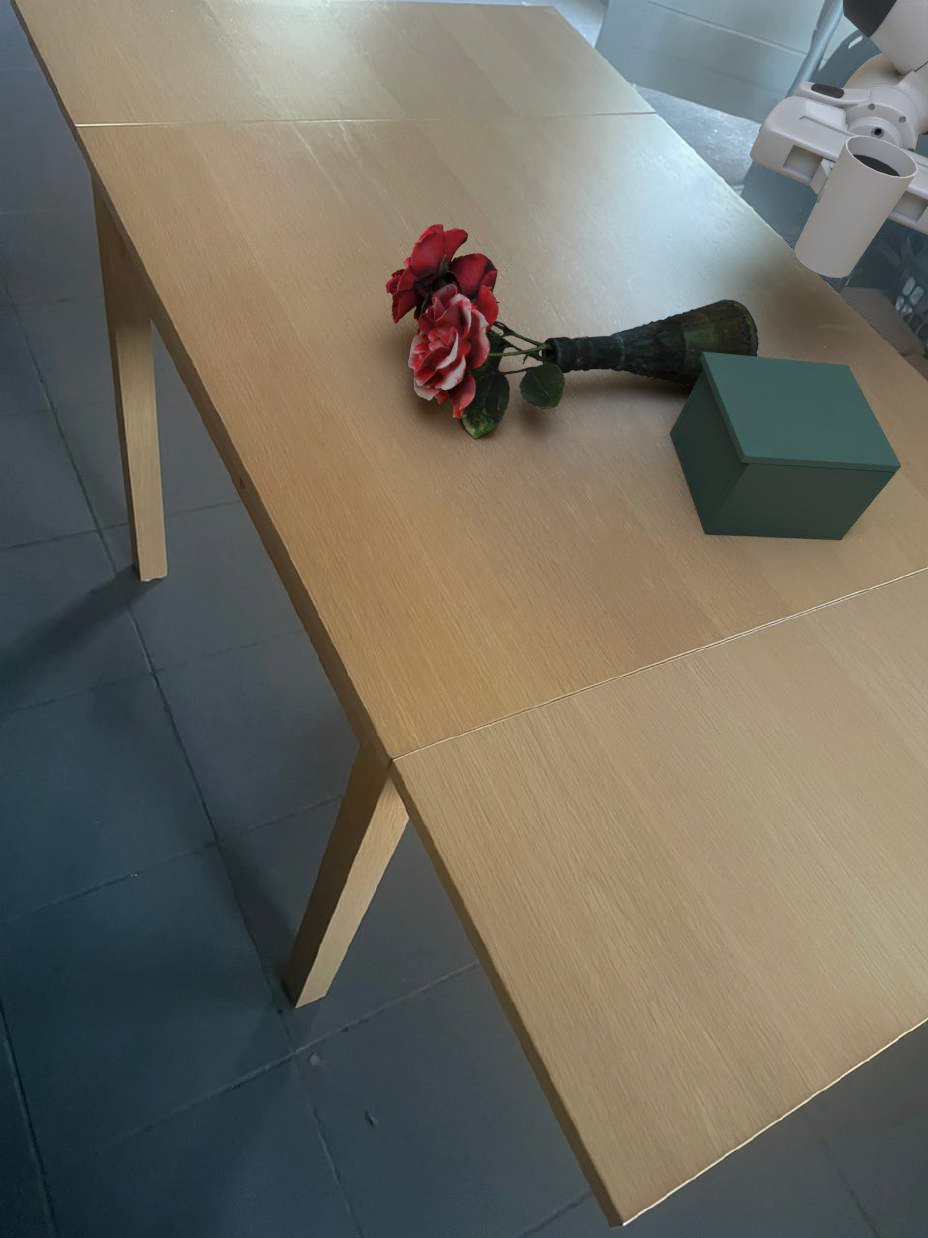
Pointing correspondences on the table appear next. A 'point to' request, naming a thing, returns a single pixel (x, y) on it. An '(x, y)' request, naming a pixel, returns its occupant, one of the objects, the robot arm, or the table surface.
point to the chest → (763, 482)
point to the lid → (797, 413)
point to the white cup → (854, 204)
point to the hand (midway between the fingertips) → (848, 206)
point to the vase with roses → (463, 347)
